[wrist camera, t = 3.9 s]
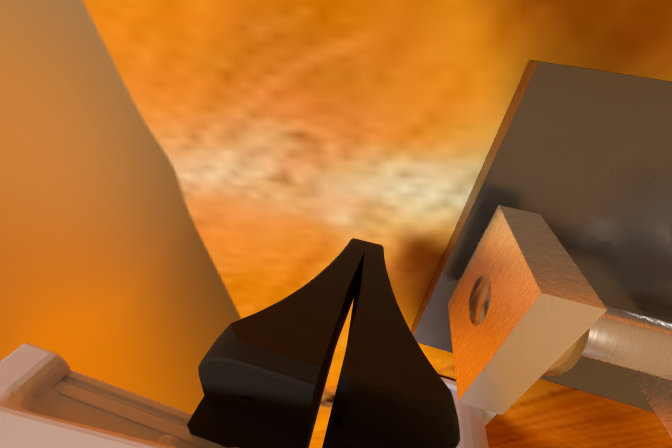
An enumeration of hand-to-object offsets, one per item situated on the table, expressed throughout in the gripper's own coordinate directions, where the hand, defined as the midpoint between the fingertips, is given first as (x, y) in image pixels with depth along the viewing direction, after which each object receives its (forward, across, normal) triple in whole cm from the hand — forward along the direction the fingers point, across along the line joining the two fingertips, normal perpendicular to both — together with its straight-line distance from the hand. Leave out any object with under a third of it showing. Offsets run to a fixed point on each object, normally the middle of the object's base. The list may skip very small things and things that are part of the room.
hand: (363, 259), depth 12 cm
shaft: (+2, -11, 0) cm, 12 cm away
